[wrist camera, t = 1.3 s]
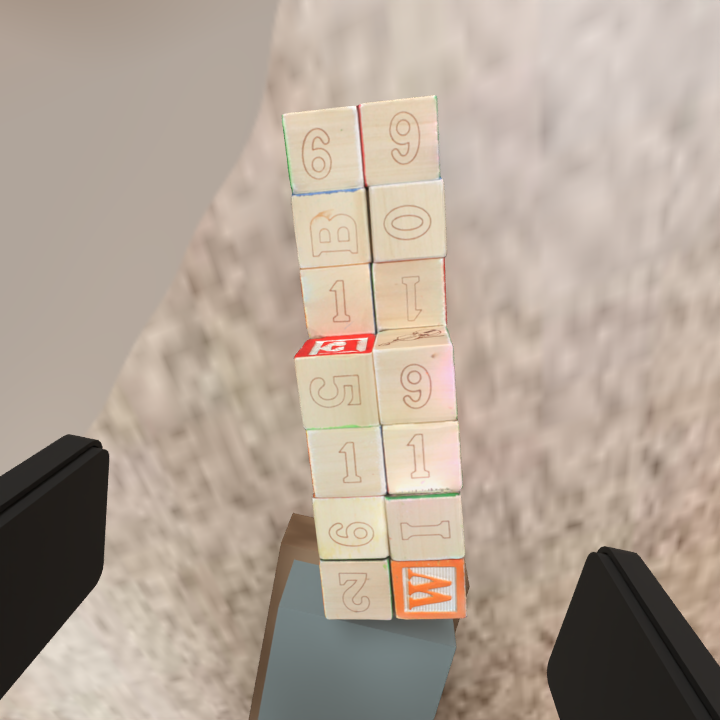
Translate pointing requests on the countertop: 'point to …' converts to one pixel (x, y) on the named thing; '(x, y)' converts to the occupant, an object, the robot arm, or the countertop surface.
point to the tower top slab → (351, 661)
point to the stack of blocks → (378, 359)
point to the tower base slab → (293, 547)
